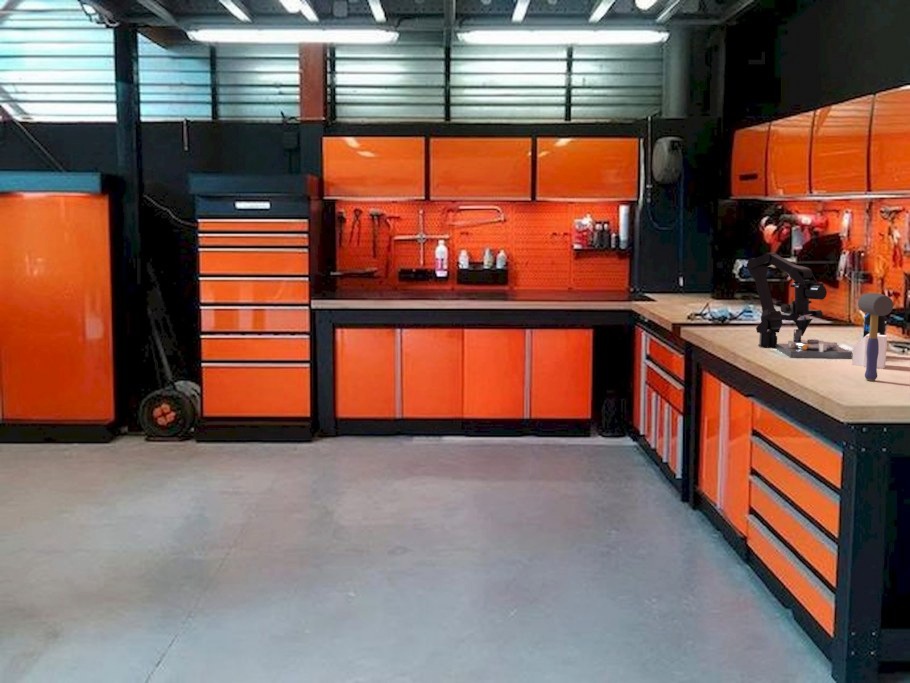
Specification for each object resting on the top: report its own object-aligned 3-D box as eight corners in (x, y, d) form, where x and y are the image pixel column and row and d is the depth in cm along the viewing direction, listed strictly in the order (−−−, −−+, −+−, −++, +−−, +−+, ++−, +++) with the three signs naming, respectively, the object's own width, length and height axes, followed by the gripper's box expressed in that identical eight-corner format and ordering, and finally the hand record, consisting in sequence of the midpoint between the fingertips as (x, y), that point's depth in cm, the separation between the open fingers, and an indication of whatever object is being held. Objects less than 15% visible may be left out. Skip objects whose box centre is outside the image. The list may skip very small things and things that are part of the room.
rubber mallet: (851, 377, 330) (856, 291, 326) (872, 377, 330) (878, 291, 326) (868, 383, 318) (873, 294, 314) (890, 383, 318) (896, 294, 314)
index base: (790, 357, 378) (791, 343, 377) (775, 349, 401) (776, 336, 400) (851, 358, 376) (852, 344, 375) (833, 350, 399) (834, 337, 398)
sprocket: (845, 346, 389) (846, 330, 388) (829, 351, 374) (830, 334, 373) (797, 342, 402) (798, 326, 401) (780, 347, 386) (780, 331, 386)
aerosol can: (882, 355, 385) (885, 306, 382) (884, 358, 377) (887, 308, 375) (860, 354, 387) (863, 305, 385) (862, 357, 380) (865, 307, 377)
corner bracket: (883, 368, 350) (885, 336, 348) (850, 366, 356) (852, 334, 354) (887, 365, 359) (889, 333, 357) (855, 362, 365) (857, 331, 363)
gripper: (802, 295, 403) (801, 331, 405) (770, 299, 394) (770, 336, 396) (823, 297, 393) (823, 334, 395) (791, 300, 384) (791, 338, 386)
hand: (801, 335), depth 393 cm, fingers closed
